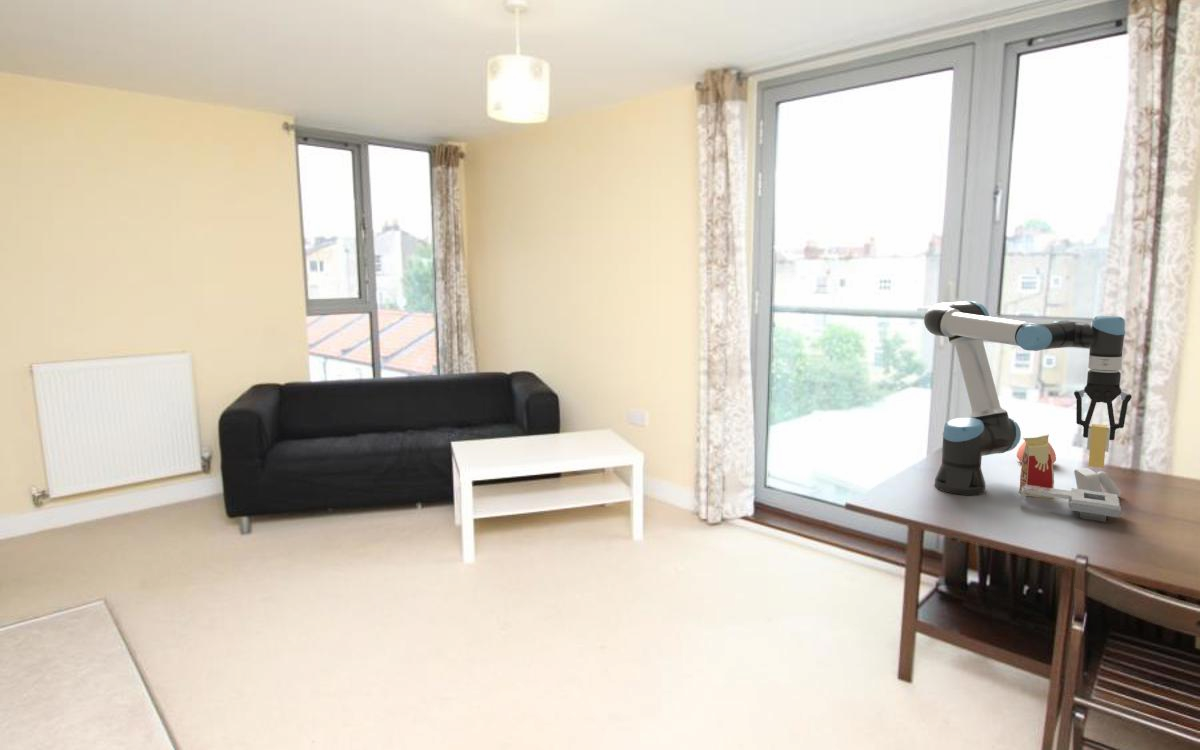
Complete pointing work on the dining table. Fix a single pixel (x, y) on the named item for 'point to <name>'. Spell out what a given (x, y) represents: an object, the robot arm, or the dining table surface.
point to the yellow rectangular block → (1097, 445)
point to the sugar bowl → (1022, 448)
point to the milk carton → (1037, 464)
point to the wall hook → (1095, 481)
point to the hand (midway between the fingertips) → (1097, 449)
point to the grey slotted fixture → (1081, 501)
